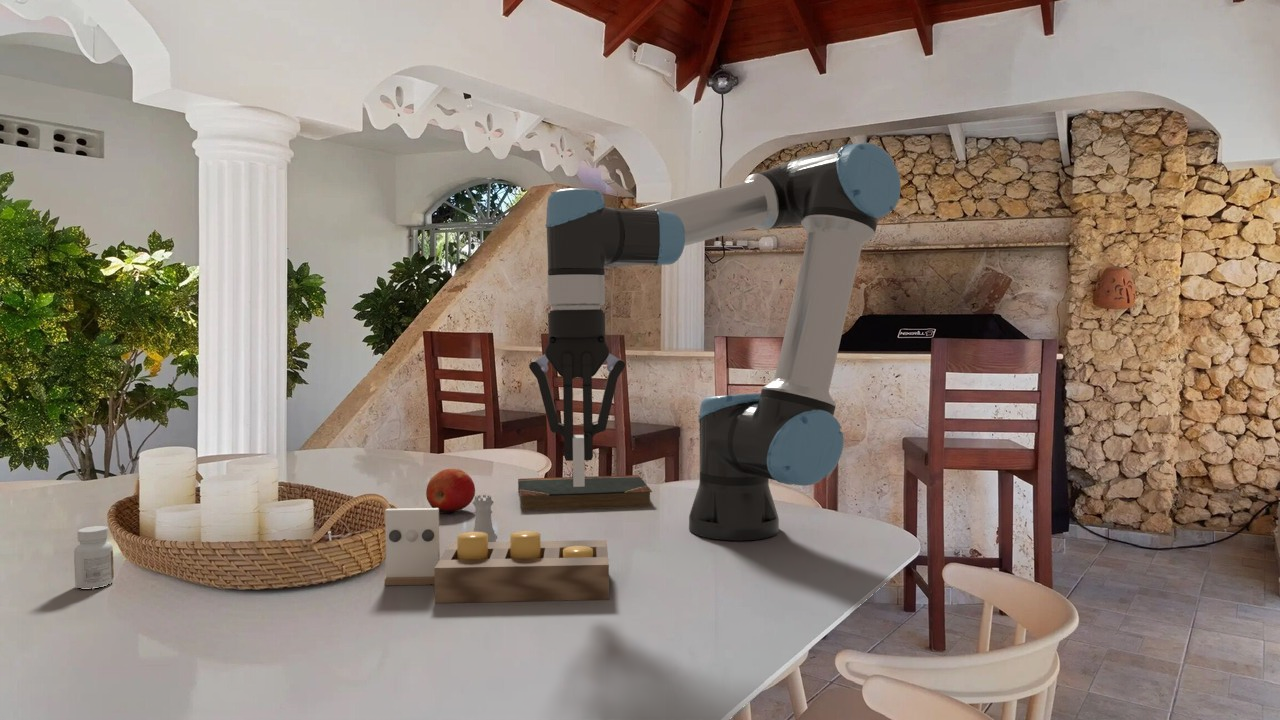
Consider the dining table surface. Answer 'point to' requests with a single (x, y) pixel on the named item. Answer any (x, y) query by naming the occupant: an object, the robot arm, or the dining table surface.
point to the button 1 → (472, 545)
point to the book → (583, 493)
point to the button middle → (525, 545)
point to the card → (411, 545)
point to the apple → (450, 490)
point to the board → (523, 575)
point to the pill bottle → (93, 558)
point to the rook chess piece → (484, 516)
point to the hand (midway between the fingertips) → (579, 484)
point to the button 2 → (577, 552)
